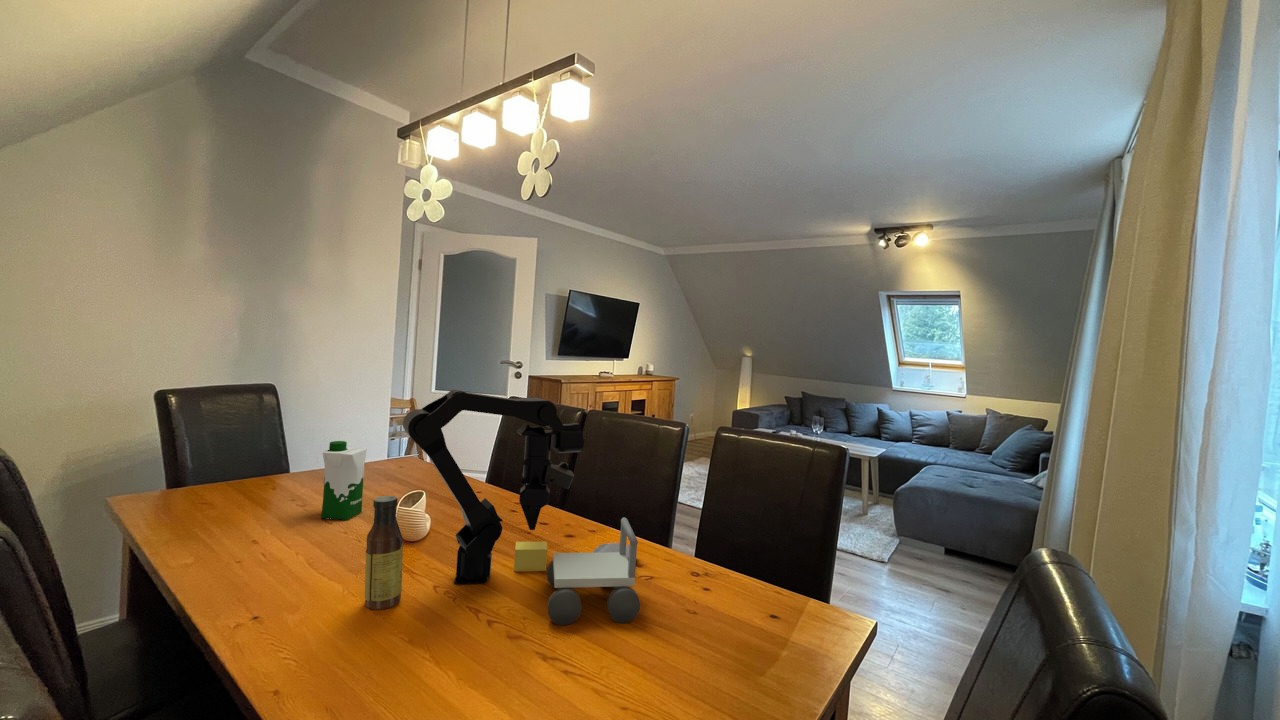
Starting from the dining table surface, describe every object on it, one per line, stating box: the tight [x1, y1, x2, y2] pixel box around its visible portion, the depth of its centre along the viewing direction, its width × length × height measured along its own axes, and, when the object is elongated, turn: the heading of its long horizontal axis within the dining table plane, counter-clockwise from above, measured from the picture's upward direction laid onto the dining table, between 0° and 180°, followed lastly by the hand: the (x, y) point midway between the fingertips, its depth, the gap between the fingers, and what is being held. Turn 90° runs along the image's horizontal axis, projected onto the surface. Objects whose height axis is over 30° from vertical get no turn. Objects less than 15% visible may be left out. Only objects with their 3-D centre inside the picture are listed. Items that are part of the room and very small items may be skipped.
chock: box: [513, 541, 548, 572], centre depth 116 cm, size 7×4×5 cm, turn 101°
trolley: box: [546, 517, 641, 626], centre depth 102 cm, size 17×16×15 cm
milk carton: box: [320, 440, 368, 521], centre depth 140 cm, size 9×9×20 cm
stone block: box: [591, 542, 630, 562], centre depth 121 cm, size 12×5×10 cm
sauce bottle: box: [364, 495, 404, 611], centre depth 96 cm, size 6×6×20 cm
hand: (532, 522), depth 116 cm, fingers open, 9 cm apart
